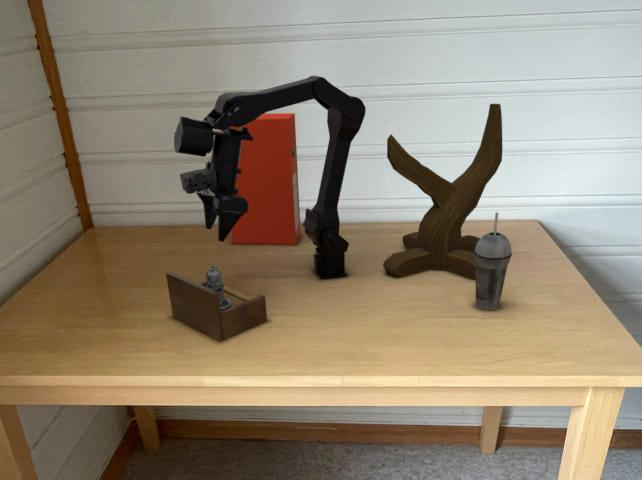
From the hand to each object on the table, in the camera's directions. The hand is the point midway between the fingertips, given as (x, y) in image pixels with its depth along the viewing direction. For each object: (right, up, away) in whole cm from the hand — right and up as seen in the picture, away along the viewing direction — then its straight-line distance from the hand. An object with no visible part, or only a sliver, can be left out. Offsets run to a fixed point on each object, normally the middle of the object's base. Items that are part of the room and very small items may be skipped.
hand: (214, 234), depth 135 cm
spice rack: (+1, -18, -3) cm, 18 cm away
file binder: (+9, +6, +39) cm, 40 cm away
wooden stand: (+51, -3, +19) cm, 55 cm away
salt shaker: (+1, -18, -3) cm, 19 cm away
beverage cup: (+57, -16, -3) cm, 59 cm away
